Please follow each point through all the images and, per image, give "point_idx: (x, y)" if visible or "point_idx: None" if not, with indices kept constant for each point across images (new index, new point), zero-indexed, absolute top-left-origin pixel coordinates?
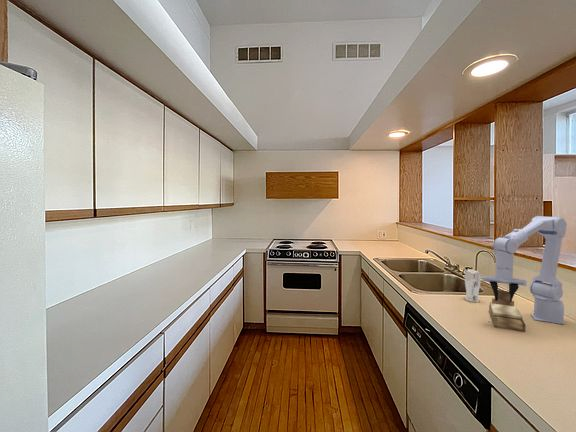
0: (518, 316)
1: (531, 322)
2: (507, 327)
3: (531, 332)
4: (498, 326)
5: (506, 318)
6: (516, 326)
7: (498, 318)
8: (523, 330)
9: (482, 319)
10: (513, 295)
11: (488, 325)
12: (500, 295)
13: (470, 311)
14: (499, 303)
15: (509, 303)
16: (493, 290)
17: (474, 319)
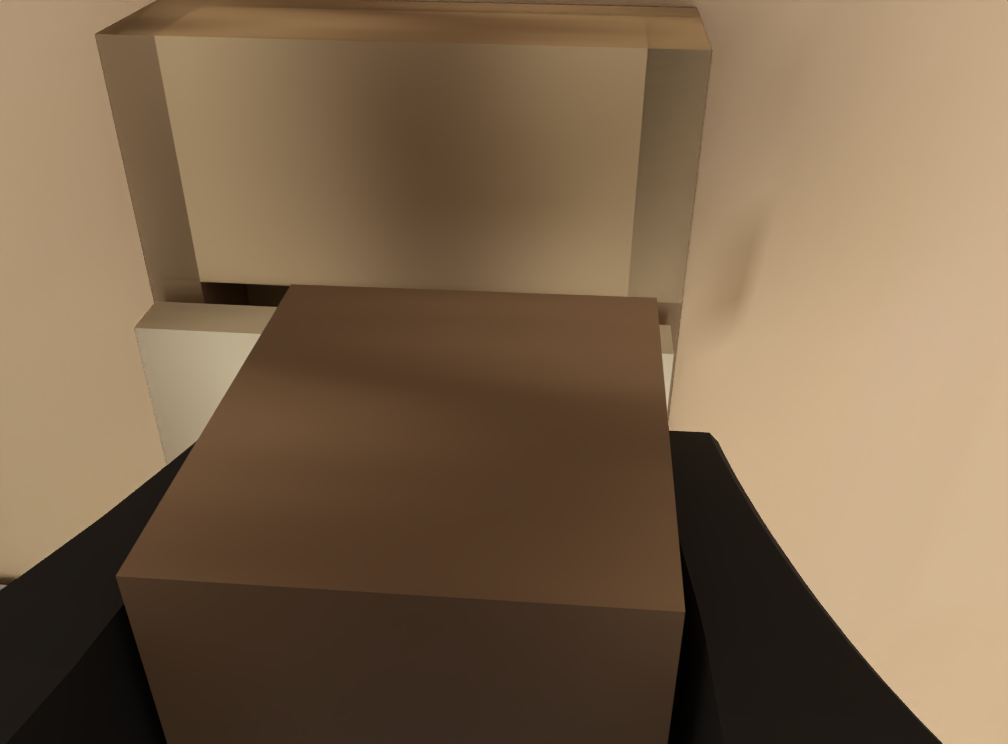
0: (205, 329)
1: (101, 499)
2: (454, 10)
3: (70, 29)
4: (619, 11)
5: (438, 253)
6: (284, 18)
7: (602, 178)
8: (183, 1)
9: (820, 347)
10: (30, 574)
11: (793, 54)
12: (571, 508)
13: (916, 630)
14: (605, 299)
15: (288, 315)
16: (933, 736)
17: (981, 288)
